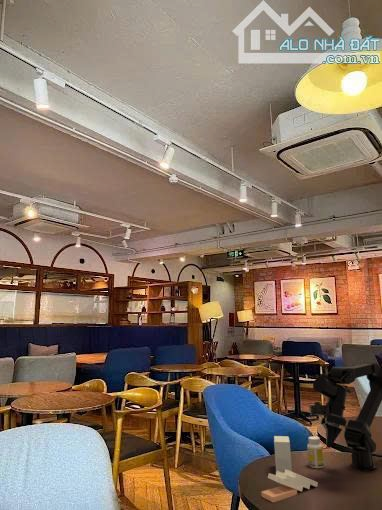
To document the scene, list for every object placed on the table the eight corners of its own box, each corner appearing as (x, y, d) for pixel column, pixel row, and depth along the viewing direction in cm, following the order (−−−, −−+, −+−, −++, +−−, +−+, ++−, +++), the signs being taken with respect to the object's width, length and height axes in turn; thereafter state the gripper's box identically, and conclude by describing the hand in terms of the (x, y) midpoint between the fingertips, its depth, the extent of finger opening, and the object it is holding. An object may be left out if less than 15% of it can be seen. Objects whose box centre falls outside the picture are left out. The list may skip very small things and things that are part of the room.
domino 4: (306, 477, 127) (285, 468, 124) (317, 482, 123) (296, 473, 120) (305, 482, 127) (284, 473, 123) (316, 487, 123) (295, 478, 119)
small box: (292, 474, 134) (290, 442, 136) (276, 473, 135) (274, 441, 137) (291, 466, 142) (288, 435, 144) (275, 465, 143) (273, 435, 145)
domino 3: (299, 479, 126) (276, 470, 123) (310, 484, 121) (286, 474, 118) (298, 484, 125) (275, 475, 122) (309, 489, 121) (285, 479, 118)
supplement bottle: (324, 464, 143) (321, 436, 145) (324, 469, 138) (321, 440, 139) (309, 463, 144) (306, 435, 146) (308, 468, 139) (306, 439, 141)
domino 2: (285, 484, 122) (261, 491, 117) (296, 489, 118) (272, 497, 113) (285, 489, 122) (261, 496, 117) (297, 494, 118) (272, 502, 113)
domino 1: (292, 481, 124) (268, 472, 121) (303, 486, 120) (279, 477, 117) (291, 486, 124) (267, 477, 120) (302, 491, 119) (277, 482, 116)
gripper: (311, 397, 148) (302, 440, 142) (316, 390, 132) (306, 438, 126) (341, 407, 144) (333, 451, 138) (350, 401, 128) (342, 450, 122)
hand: (328, 447), depth 131 cm, fingers closed
